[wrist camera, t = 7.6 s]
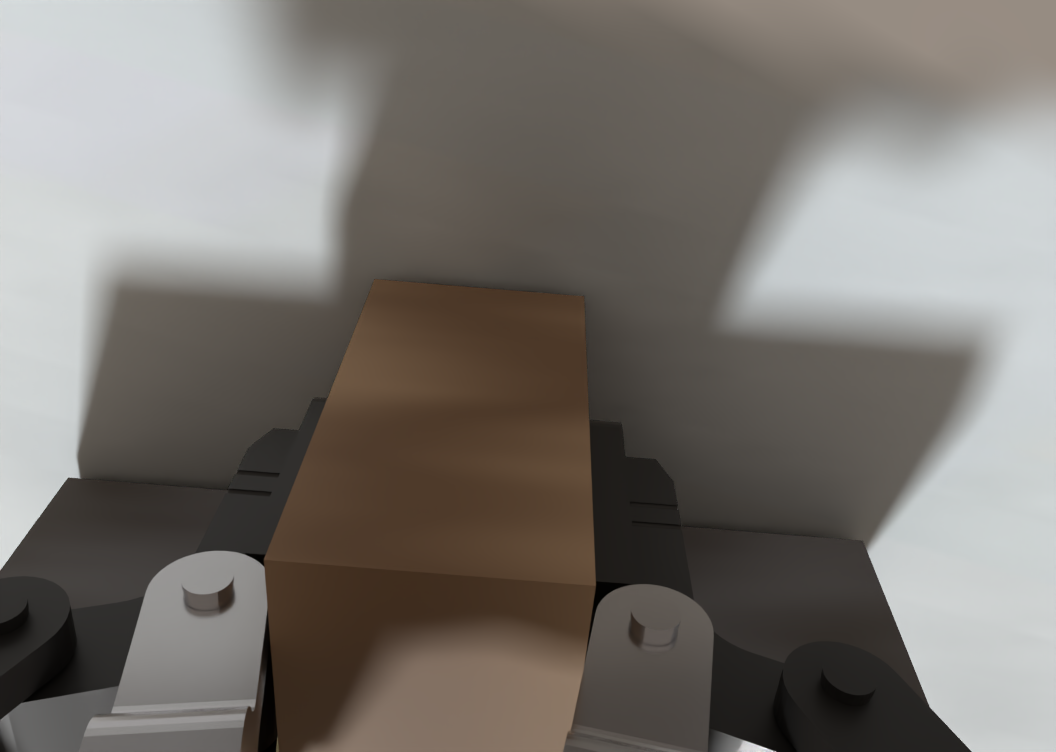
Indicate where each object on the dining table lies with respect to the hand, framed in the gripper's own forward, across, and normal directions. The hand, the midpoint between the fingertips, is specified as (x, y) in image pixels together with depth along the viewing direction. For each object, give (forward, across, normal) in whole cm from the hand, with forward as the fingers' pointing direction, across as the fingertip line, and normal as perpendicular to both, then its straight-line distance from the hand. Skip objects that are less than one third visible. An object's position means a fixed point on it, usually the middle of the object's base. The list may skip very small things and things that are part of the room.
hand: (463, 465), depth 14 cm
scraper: (+1, 0, 0) cm, 1 cm away
